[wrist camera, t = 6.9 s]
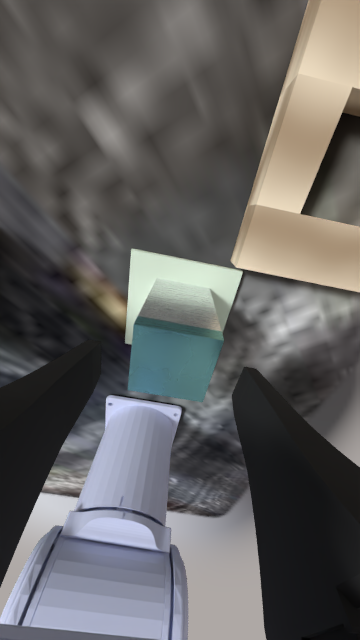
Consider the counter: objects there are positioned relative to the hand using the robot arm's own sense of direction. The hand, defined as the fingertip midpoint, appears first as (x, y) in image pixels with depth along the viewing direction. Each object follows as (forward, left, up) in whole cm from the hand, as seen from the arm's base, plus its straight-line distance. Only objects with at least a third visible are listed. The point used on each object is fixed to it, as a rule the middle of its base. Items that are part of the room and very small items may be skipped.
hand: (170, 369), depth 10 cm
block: (0, 0, -7) cm, 7 cm away
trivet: (0, 0, -7) cm, 7 cm away
